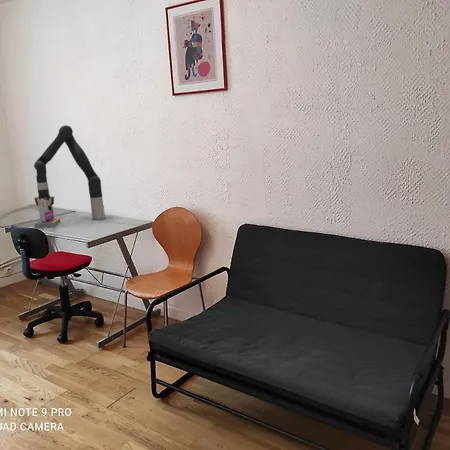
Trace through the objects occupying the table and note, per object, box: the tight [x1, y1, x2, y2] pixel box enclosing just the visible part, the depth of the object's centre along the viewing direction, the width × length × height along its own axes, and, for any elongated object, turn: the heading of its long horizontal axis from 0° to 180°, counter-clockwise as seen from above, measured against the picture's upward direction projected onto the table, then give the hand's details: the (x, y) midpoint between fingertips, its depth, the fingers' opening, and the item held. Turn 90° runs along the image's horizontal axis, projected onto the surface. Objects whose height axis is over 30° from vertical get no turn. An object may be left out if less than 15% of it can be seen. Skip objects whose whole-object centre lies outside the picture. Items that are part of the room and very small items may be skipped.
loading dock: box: [33, 217, 61, 229], centre depth 347 cm, size 14×16×3 cm
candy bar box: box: [37, 198, 55, 222], centre depth 344 cm, size 11×5×16 cm, turn 168°
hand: (46, 210), depth 345 cm, fingers closed on candy bar box, 5 cm apart
